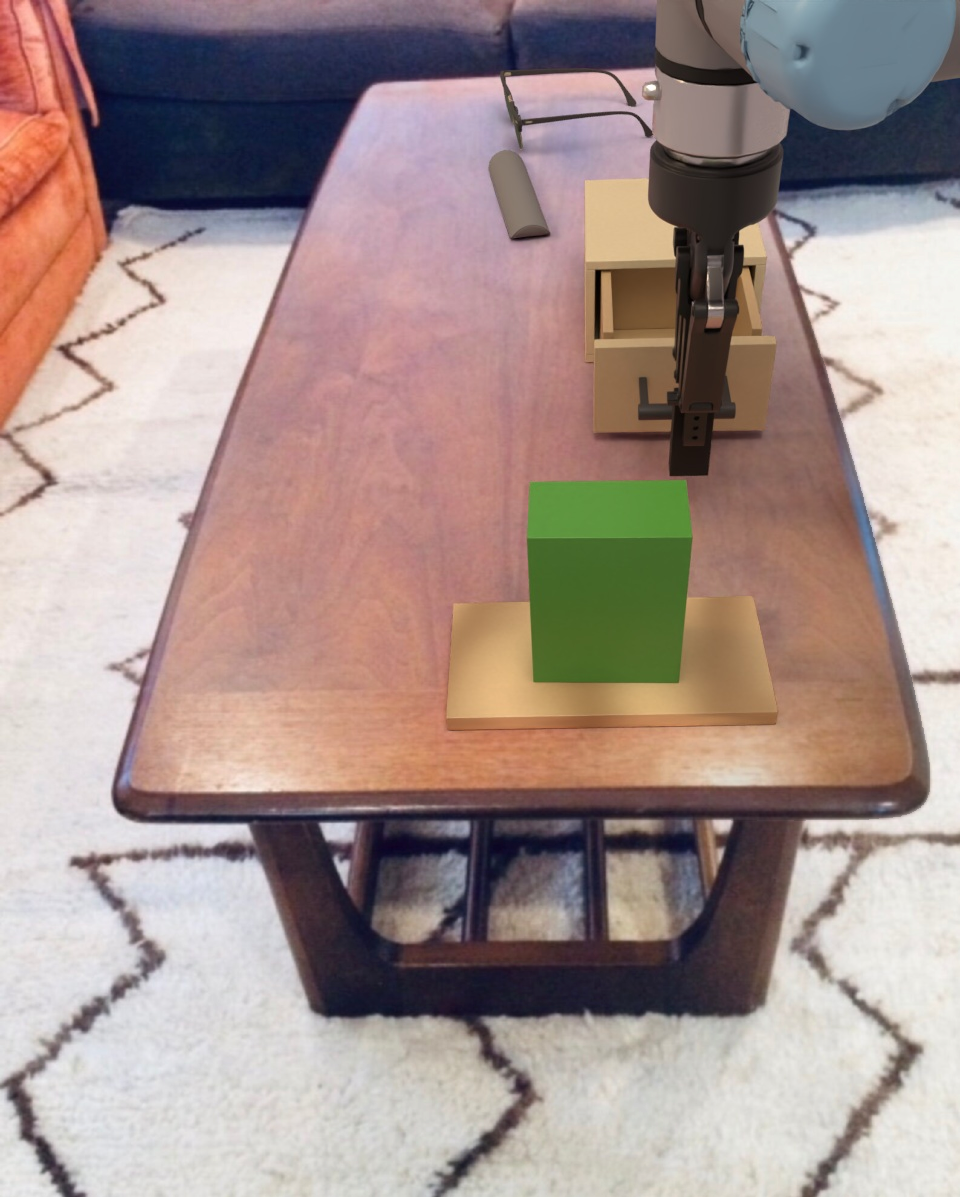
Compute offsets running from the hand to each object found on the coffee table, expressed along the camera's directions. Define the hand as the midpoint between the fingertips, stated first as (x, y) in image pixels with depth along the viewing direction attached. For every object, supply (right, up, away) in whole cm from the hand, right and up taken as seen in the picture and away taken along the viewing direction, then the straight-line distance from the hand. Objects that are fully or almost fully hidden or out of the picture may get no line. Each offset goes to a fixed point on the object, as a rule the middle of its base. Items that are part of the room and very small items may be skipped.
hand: (688, 469), depth 79 cm
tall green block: (-7, -13, -9) cm, 17 cm away
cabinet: (+2, +17, +22) cm, 28 cm away
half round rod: (-11, +34, +42) cm, 55 cm away
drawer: (+1, +7, +11) cm, 14 cm away
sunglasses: (-3, +48, +55) cm, 73 cm away
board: (-7, -14, -8) cm, 17 cm away
